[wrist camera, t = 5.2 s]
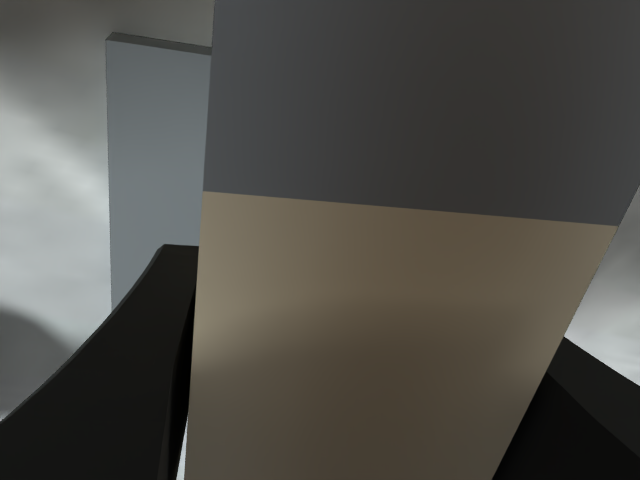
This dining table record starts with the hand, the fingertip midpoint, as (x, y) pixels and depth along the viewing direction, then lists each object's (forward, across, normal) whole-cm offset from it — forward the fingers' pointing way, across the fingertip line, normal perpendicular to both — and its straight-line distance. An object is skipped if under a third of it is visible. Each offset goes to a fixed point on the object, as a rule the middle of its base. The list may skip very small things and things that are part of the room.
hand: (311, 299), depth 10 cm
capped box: (+2, 0, -1) cm, 2 cm away
